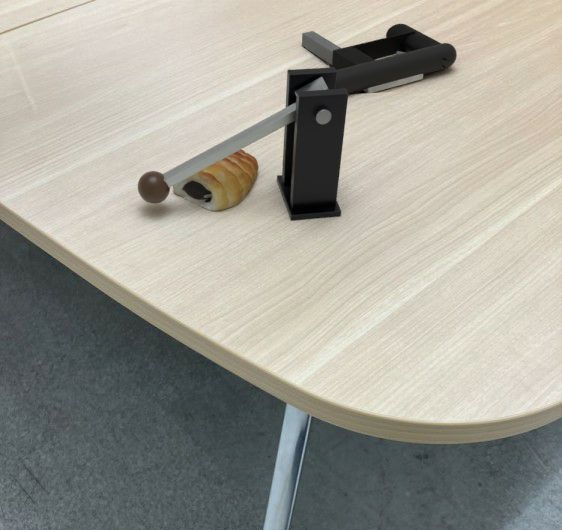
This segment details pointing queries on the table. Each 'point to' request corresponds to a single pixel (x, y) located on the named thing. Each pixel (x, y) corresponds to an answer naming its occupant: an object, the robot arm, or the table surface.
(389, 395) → the table surface
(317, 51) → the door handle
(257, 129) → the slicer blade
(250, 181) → the pastry
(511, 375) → the table surface
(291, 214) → the black lever stand
